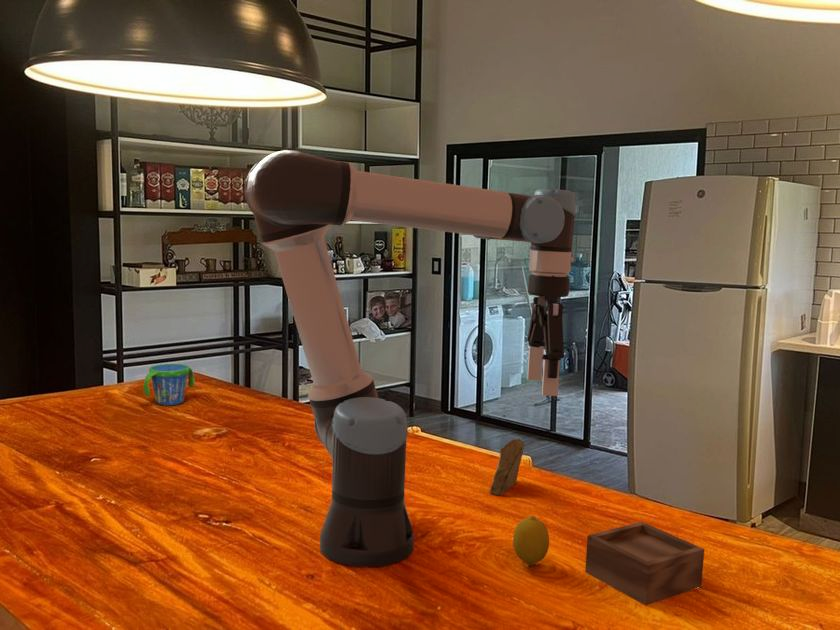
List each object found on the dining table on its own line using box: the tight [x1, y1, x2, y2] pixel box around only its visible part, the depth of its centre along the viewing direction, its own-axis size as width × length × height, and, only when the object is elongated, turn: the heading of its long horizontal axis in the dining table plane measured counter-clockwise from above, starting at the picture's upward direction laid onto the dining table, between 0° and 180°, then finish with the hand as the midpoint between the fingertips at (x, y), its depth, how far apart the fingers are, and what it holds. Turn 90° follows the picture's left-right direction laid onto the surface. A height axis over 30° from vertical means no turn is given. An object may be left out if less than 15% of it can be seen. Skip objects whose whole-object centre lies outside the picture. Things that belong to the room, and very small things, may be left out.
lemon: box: [512, 515, 550, 567], centre depth 122 cm, size 6×6×8 cm
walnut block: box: [584, 521, 705, 606], centre depth 119 cm, size 12×12×6 cm
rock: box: [489, 438, 525, 496], centre depth 159 cm, size 11×9×10 cm
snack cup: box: [142, 363, 196, 406], centre depth 219 cm, size 16×10×10 cm
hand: (541, 387), depth 148 cm, fingers open, 13 cm apart
